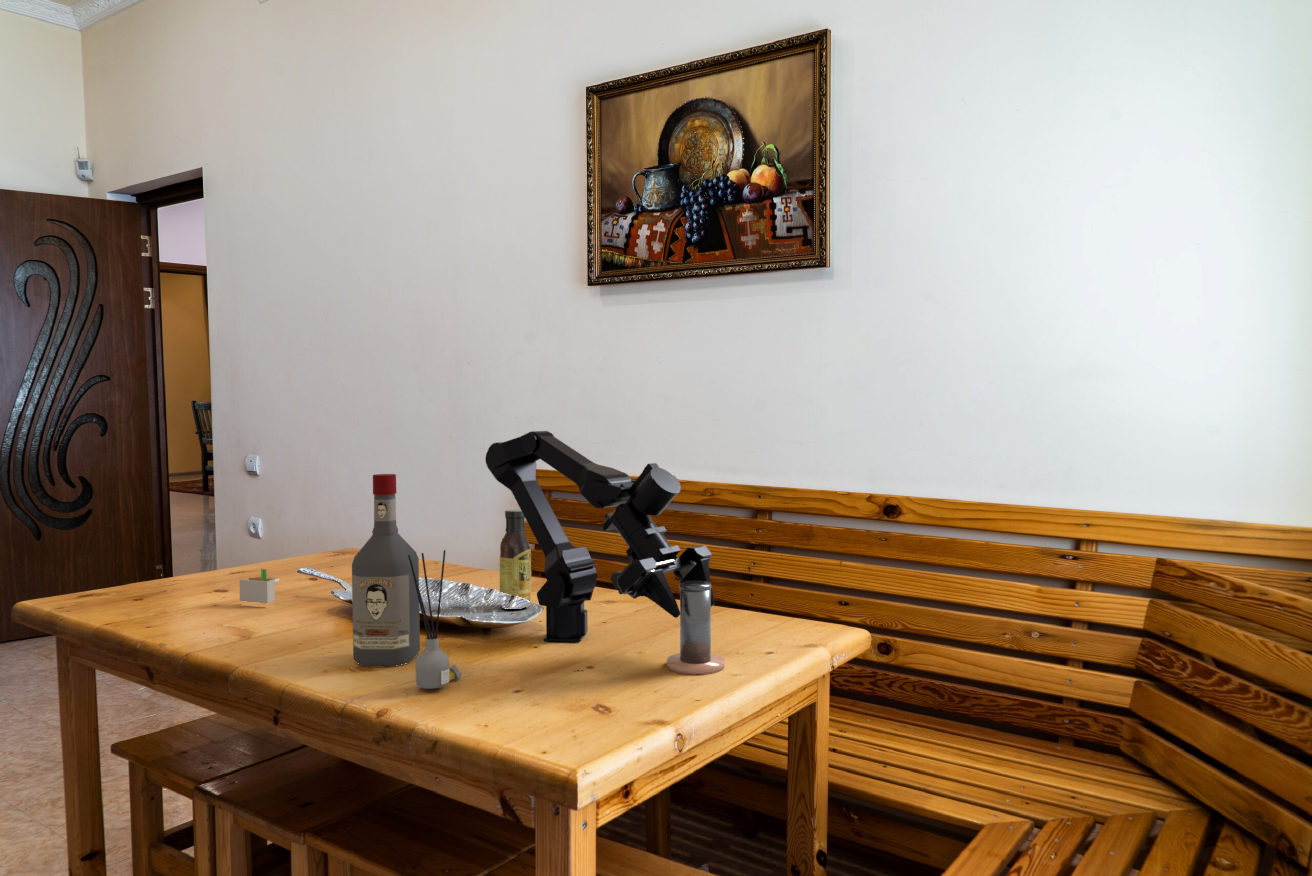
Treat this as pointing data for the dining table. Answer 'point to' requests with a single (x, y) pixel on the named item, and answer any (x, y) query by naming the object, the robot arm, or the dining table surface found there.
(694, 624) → the canister
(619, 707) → the dining table surface
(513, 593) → the sauce bottle
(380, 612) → the liquor
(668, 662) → the soap bar
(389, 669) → the dining table surface
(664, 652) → the dining table surface
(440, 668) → the reed diffuser
